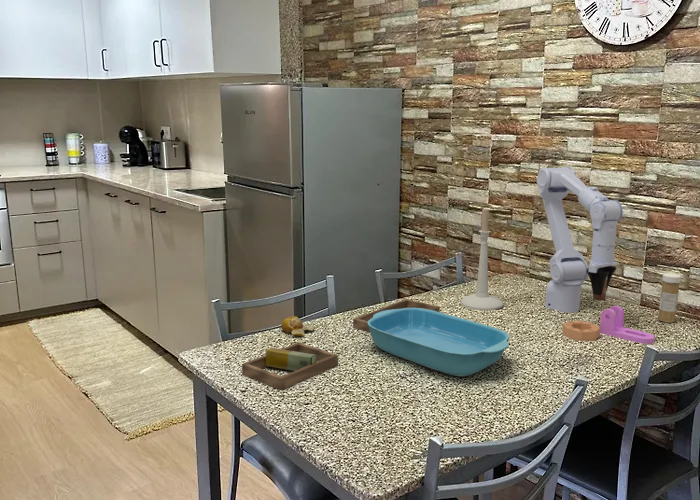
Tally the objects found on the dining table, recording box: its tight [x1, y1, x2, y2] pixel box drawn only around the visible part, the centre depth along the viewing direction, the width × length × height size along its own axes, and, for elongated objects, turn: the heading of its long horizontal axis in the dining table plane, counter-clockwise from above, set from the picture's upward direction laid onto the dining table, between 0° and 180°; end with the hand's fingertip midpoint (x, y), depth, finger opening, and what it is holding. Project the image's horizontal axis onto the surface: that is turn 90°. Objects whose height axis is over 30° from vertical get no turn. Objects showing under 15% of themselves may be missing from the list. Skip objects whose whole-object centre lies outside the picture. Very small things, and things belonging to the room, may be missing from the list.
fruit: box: [280, 315, 316, 337], centre depth 171 cm, size 8×8×4 cm
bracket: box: [599, 305, 655, 345], centre depth 167 cm, size 13×6×7 cm, turn 43°
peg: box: [592, 276, 608, 302], centre depth 175 cm, size 3×3×7 cm
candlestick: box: [460, 208, 504, 311], centre depth 193 cm, size 13×13×30 cm
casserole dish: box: [368, 308, 510, 377], centre depth 156 cm, size 37×22×7 cm, turn 46°
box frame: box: [241, 342, 339, 391], centre depth 146 cm, size 13×18×2 cm
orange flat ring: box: [561, 320, 601, 342], centre depth 169 cm, size 9×9×2 cm
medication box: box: [265, 347, 317, 372], centre depth 146 cm, size 12×3×4 cm, turn 69°
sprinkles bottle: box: [657, 272, 682, 323], centre depth 178 cm, size 5×5×13 cm
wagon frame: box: [352, 298, 441, 333], centre depth 180 cm, size 12×25×2 cm, turn 139°
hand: (599, 293), depth 176 cm, fingers closed on peg, 3 cm apart
